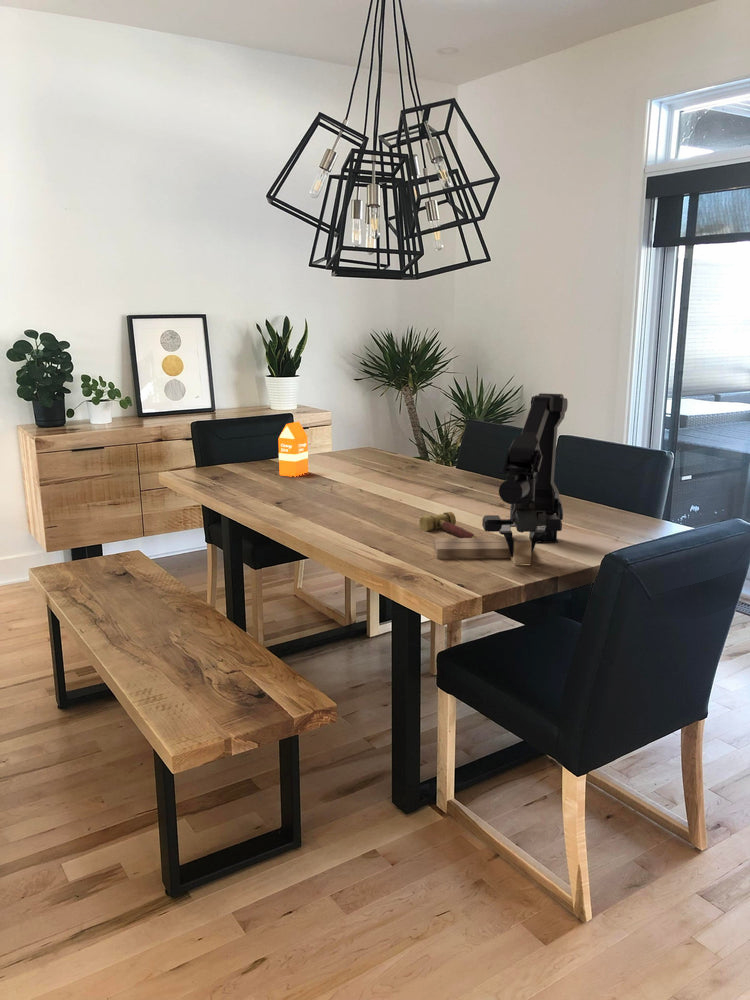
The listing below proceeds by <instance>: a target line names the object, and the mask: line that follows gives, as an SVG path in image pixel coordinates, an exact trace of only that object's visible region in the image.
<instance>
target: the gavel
mask: <svg viewBox="0 0 750 1000" xmlns="http://www.w3.org/2000/svg"><path fill="white" fill-rule="evenodd" d="M418 523H419V528H420V529H421V531H423V530H424V531H423V532H430V531H431V532H432V531H433V530H437V529H438V530H439V529H443V530H444V531H446V532H447V533H450V534H451V535H454V536H456V537H457V538H477V536H475V534H474V533H472V532H470V531H468V530H466V529H464V528H462V527H460V526H458V525H456V523H457V520H456V515H455V514H454V512H452V511H447V512H446V511H445V512H443V513H441V514H434V515H433V514H432V515H422V516H420V517H419V522H418Z"/></svg>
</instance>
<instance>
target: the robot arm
mask: <svg viewBox="0 0 750 1000" xmlns="http://www.w3.org/2000/svg"><path fill="white" fill-rule="evenodd" d="M568 403H569V402H568V398H567V397H564V394H563V393H547V392H546V393H543V392H540V393H539V394H537V395H534V396H531V400H530V408H529V411H528V413H527V417H526V419H525V422H524V425H523V428H522V431H521V434H520V435H519V436H517V437H516V438H514V439H513V440H512V443H511V445H510V447H509V448H508V449H507V451H506V456H505V459H504V463H503V464H504V465H503V469H502V474H503V475H507V476H506V477H507V479H506V480H504V481H503V482H502V483H501V484H500V486H499V488H498V495H499V498H500V499H501V500H502V501H503V502H504V503H506V504H508V505H510V509H509V510H510V514H509V518H505V519H503V518H502V519H501V517H500V516H499V515H495V514H494V515H493V514H492V515H491V514H490V515H487V514H486V515H484V516H483V517H482V523H481V525H482V527H483V530H484V531H485V532H488V533H490V532H492V533H493V532H498V534H500V535H503V538H505V539H506V542H507V545H508V549H509V552H510V555H511V557H513V541H512V535H514V534H513V531H512V530H511V528H513V527H514V528H516V531H517V532H519V533H525V532H527V533H529V536H528V537H529V539H530V540H531V542H532V546H531V554H532V555H533V552H534V549H535V548H536V547H535V546H537V545H536V544H537V543H559V540H558V538H557V537H558V532H561V531H563V522H562V520H564V508H563V504H562V501H561V498H560V491H559V489H558V487H557V485H556V483H555V481H554V480H555V471H556V470H555V468H556V455H557V453H556V452H557V440H558V439H557V437H558V427H559V426H560V424H561V423H562V421H564V420H565V414H566V412H567V411H568V405H569V404H568ZM510 466H511V467H510Z"/></svg>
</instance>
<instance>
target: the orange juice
mask: <svg viewBox="0 0 750 1000" xmlns="http://www.w3.org/2000/svg"><path fill="white" fill-rule="evenodd" d="M278 463H279V464H278V466H279V467H278V468H279V469H278V470H279V476H283V477H284V476H285V477H292V476H294V478H295V477H296V476H297V477H300V476H303V475H305V474H304V473H307V472H308V473H309V449H308V435H307V433H306V431H305V430H304V428H303V426H302V425H301V423H300V421H293V422H290V423H286V424H285V426H284V427H283V429H282V431H281V433H280V435H279V437H278ZM308 473H307V474H308ZM302 474H303V475H302ZM299 475H300V476H299Z"/></svg>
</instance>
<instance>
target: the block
mask: <svg viewBox="0 0 750 1000" xmlns="http://www.w3.org/2000/svg"><path fill="white" fill-rule="evenodd" d="M512 541H513V557H511V555H510V558H509V559H510V561H511V562H512V561H513V562H512V564H513V563H514V564H513V566H514V565H515V566H523V565H522V564H531V565H532V558H531V546H532V542H531V540H530V539H529V536H528V535H526V534H525V535H524V534H522V535H519V534H517V535H516V534H515V535H514V534H512ZM520 564H521V565H520Z"/></svg>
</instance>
